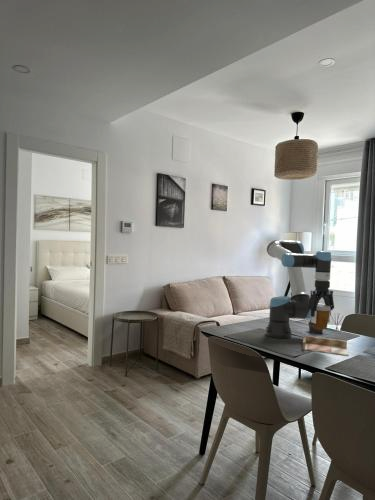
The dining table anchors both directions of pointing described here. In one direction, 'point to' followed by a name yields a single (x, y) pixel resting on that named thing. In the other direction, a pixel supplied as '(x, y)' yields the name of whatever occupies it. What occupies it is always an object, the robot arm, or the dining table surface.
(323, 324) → the cup of beer
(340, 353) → the brown beige flat box
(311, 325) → the cupcake
